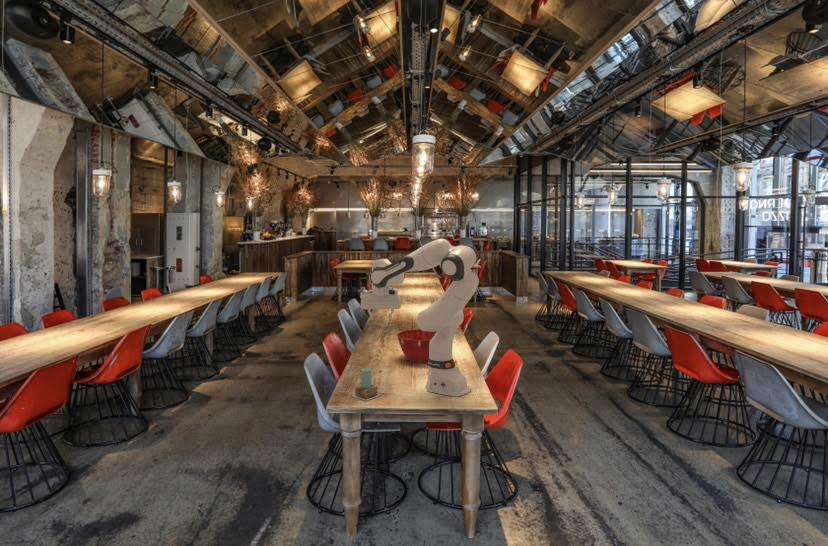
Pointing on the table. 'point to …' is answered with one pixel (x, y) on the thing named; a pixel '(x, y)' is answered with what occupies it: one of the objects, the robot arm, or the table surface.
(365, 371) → the pillar
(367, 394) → the base block
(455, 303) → the robot arm
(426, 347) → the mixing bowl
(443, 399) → the table surface
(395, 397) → the table surface
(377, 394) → the board
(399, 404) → the table surface
